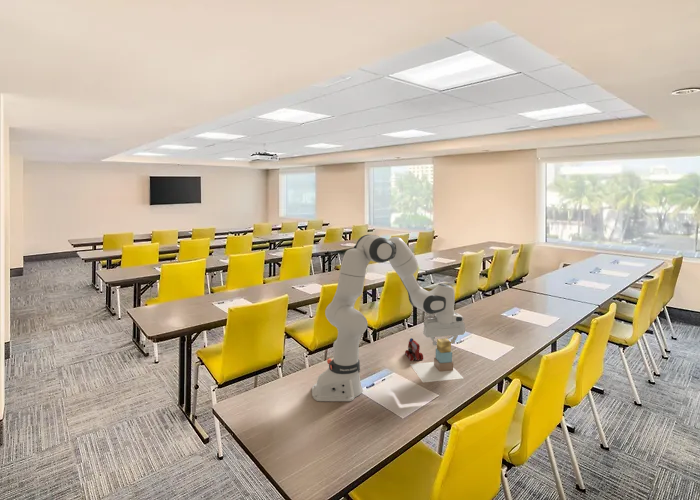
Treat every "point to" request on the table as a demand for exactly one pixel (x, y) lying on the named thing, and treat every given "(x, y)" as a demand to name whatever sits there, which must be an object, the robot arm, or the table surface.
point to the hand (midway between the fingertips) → (443, 344)
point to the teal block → (443, 356)
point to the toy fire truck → (413, 351)
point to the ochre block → (444, 345)
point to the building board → (436, 371)
